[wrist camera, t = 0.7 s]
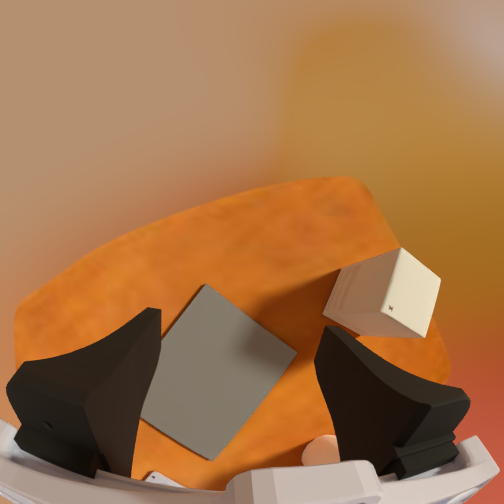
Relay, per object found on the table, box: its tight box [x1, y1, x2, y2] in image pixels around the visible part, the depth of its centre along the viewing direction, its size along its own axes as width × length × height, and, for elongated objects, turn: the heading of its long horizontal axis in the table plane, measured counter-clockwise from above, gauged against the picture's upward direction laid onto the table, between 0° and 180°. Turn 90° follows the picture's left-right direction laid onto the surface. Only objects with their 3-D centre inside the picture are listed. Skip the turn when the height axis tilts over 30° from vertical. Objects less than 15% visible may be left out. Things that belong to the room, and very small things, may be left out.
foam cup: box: [301, 435, 340, 466], centre depth 26 cm, size 10×9×13 cm
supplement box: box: [322, 247, 441, 338], centre depth 32 cm, size 7×7×13 cm
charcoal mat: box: [140, 284, 298, 461], centre depth 32 cm, size 18×14×1 cm
